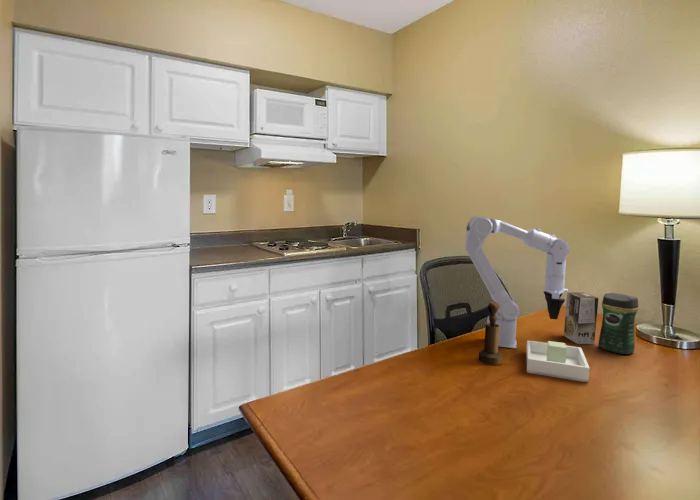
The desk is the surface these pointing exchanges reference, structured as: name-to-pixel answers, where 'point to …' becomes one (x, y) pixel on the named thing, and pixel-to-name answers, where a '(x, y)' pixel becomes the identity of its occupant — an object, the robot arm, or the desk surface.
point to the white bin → (570, 369)
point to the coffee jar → (618, 323)
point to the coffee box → (581, 317)
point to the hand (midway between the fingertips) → (552, 315)
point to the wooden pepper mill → (491, 339)
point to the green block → (556, 352)
